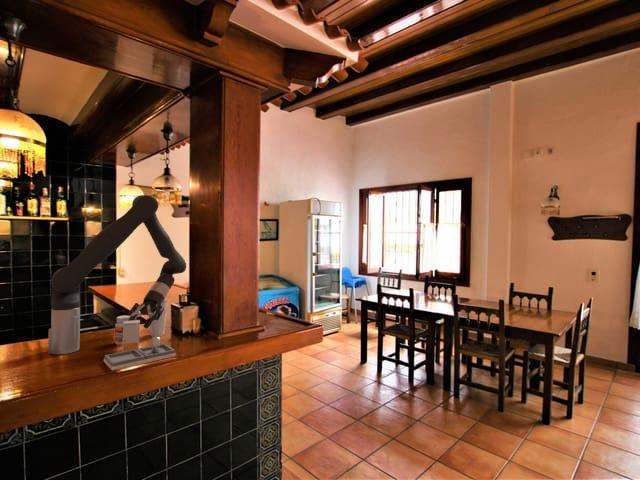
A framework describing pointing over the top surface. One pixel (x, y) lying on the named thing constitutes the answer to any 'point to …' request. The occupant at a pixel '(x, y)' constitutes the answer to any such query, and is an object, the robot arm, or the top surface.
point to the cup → (159, 322)
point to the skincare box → (130, 335)
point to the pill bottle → (120, 329)
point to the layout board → (139, 355)
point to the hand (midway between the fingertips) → (136, 326)
